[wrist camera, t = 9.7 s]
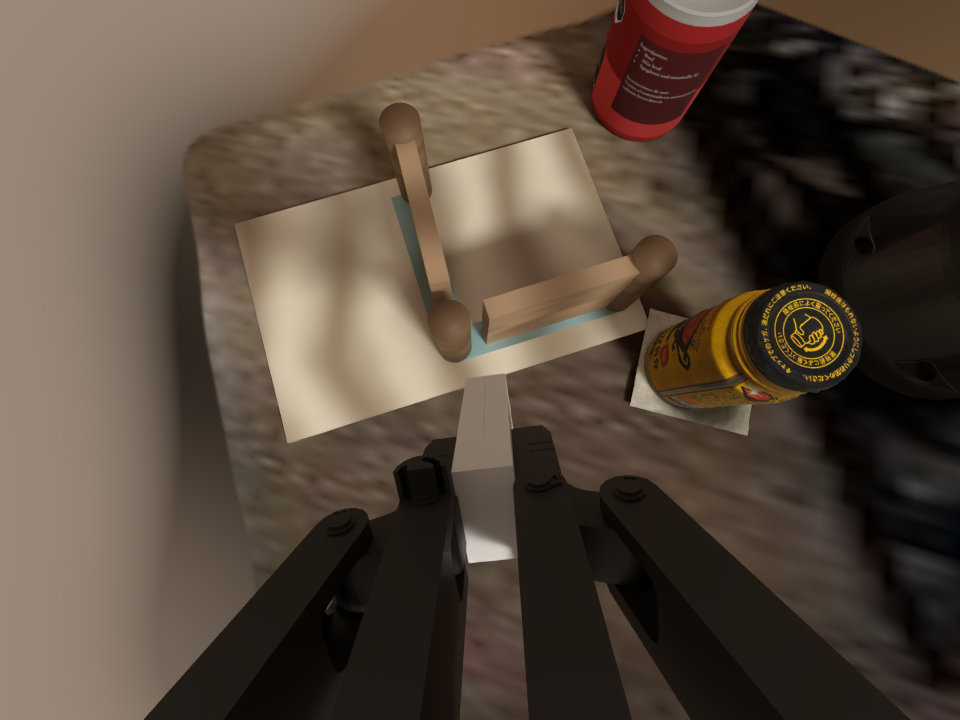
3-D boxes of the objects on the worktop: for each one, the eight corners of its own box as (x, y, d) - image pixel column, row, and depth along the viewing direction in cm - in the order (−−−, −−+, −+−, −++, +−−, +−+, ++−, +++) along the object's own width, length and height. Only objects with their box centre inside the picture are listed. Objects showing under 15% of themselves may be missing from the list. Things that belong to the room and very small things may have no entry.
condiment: (648, 308, 33) (752, 245, 21) (761, 337, 33) (930, 290, 21) (628, 405, 32) (725, 397, 20) (744, 435, 32) (911, 445, 20)
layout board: (570, 131, 36) (571, 127, 35) (648, 328, 33) (651, 327, 32) (237, 226, 34) (234, 223, 33) (290, 442, 31) (287, 443, 31)
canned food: (647, 44, 37) (718, -119, 26) (702, 118, 36) (800, -20, 25) (569, 84, 36) (609, -67, 26) (623, 161, 35) (688, 38, 24)
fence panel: (463, 312, 32) (460, 274, 25) (431, 320, 32) (418, 284, 25) (428, 172, 34) (414, 98, 27) (397, 179, 34) (375, 107, 27)
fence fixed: (443, 367, 32) (434, 345, 24) (433, 335, 32) (421, 305, 25) (636, 306, 33) (683, 267, 25) (625, 276, 33) (668, 230, 26)
